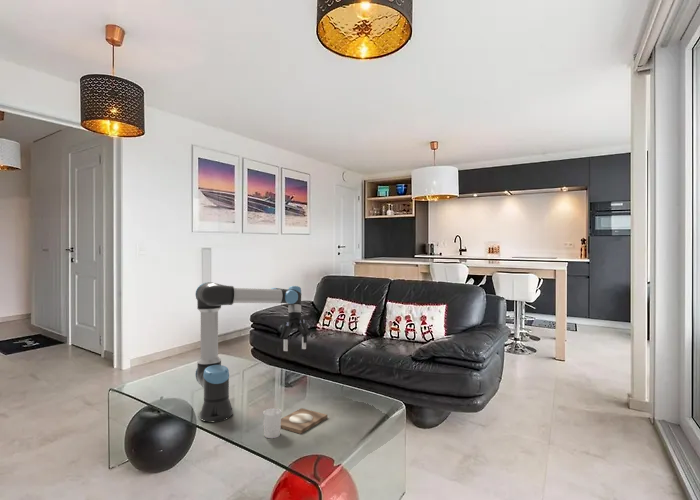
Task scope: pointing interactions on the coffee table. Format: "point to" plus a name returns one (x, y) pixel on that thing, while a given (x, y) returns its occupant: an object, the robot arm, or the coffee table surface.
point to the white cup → (272, 422)
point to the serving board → (301, 420)
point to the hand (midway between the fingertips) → (294, 350)
